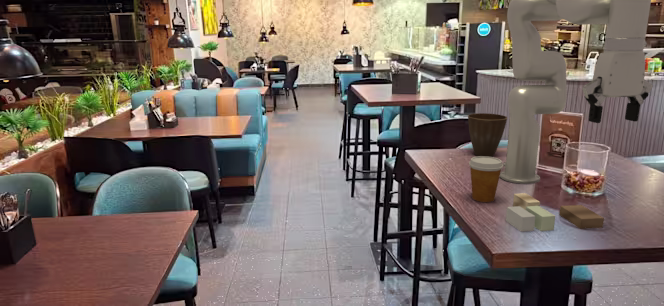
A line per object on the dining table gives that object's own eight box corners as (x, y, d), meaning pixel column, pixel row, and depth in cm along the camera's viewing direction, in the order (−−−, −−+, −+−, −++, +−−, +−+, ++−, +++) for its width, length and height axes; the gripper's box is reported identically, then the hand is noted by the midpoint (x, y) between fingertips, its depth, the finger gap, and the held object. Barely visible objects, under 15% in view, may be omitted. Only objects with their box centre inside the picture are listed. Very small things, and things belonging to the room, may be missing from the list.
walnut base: (559, 216, 120) (560, 205, 120) (580, 215, 121) (581, 204, 120) (579, 230, 112) (581, 219, 111) (602, 229, 112) (604, 218, 111)
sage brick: (524, 220, 117) (526, 206, 116) (536, 219, 118) (538, 205, 117) (540, 231, 111) (542, 216, 110) (553, 230, 111) (555, 215, 110)
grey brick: (505, 221, 117) (507, 207, 116) (518, 220, 118) (519, 206, 117) (520, 232, 110) (522, 217, 109) (533, 231, 111) (535, 216, 110)
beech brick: (512, 207, 127) (514, 193, 126) (524, 206, 127) (525, 193, 126) (526, 216, 120) (528, 202, 119) (538, 215, 120) (540, 201, 119)
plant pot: (509, 154, 183) (513, 115, 179) (495, 161, 172) (498, 121, 168) (474, 148, 192) (477, 112, 188) (459, 155, 182) (461, 116, 178)
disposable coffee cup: (499, 195, 136) (503, 157, 133) (500, 205, 127) (503, 165, 124) (467, 191, 139) (469, 154, 136) (465, 202, 130) (468, 163, 127)
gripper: (643, 45, 105) (632, 117, 109) (577, 46, 103) (568, 120, 107) (672, 46, 98) (658, 122, 102) (601, 47, 95) (591, 125, 100)
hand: (612, 121), depth 105 cm, fingers open, 9 cm apart
